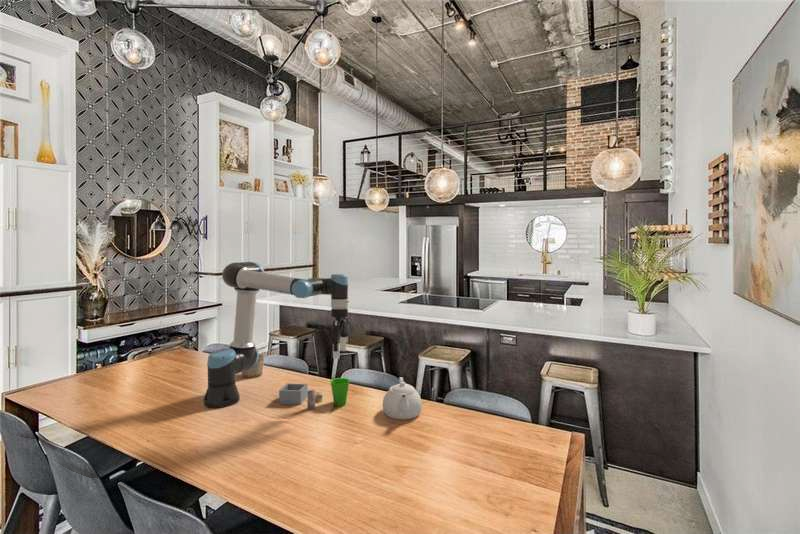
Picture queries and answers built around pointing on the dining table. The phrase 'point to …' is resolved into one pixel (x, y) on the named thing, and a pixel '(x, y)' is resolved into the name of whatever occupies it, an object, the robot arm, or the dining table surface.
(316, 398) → the maple block
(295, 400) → the grey open box
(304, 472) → the dining table surface
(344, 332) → the robot arm
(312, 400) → the lid
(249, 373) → the planter
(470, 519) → the dining table surface
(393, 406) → the teapot
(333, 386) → the cup
